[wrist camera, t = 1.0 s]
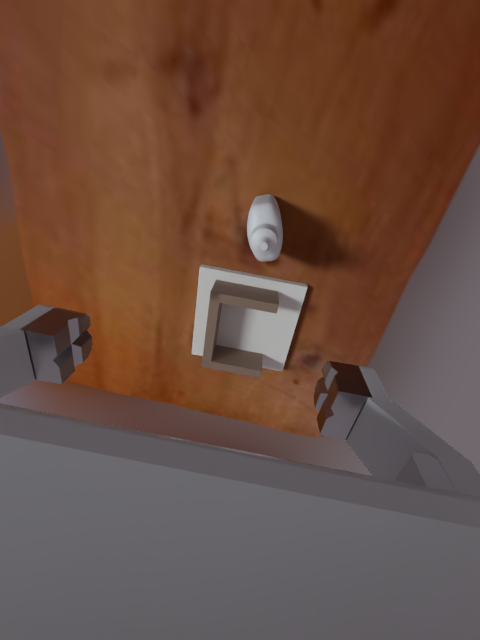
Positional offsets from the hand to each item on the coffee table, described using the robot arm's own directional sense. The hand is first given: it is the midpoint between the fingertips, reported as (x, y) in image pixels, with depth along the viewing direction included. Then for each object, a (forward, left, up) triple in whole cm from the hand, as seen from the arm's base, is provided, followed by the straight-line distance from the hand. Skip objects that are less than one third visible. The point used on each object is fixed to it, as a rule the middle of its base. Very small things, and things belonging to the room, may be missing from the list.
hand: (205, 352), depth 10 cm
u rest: (+14, +1, -28) cm, 31 cm away
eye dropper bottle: (0, +2, -28) cm, 28 cm away
